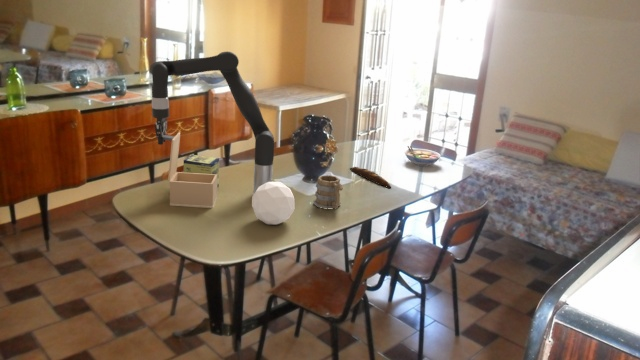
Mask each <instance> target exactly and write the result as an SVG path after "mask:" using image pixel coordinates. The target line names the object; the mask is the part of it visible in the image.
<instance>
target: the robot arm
mask: <svg viewBox="0 0 640 360" xmlns="http://www.w3.org/2000/svg"><path fill="white" fill-rule="evenodd" d="M239 61H240V60H239V57H238V55H236V54H235V53H234V52H232V51H223V52H220V53H219V54H217V55H214V56H207V57H196V58H195V57H194V58H184V59H176V60H160V61H159V60H158V61H155V62H153V63H151V65H150V67H149V72H150V74H151V75H152V76H151V78H152V86H151V116H152V117H153V118H154V119H156V121H155V125H154V130H155V136H156V138H157V137H158V139H157V145H164V143H165V142H166V141H167V140H163V135H167V131H168V118H170V101H169V90H168V82H169V77H170V76H176V77H179V76H180V77H181V76H188V75H194V74H200V73H207V72H214V71H215V72H216V71H219V72H220V73H221V75H222V76H223V78H224V80H225V81H226V83H227V85H228V88H229V90H230V93H231V95H232V97H233V100H234V102H235V103H236V106H237V108H238V110H239V111H240V113H241V115H242V116H243V119H244V120H246V122H247V123H248V125H249V126H250V128H251V130H252V134H253V136H254V139H255V144H254V145H255V146H254V167H253V168H254V169H253V170H254V171H253V173H254V174H253V190H252V191H253V194H252V196H253V195H254V193H255V192H256V190H257V189H258V187H259V186H261V185H263V184H265V183H267V182H274V181H273V180H274V177H273V173H274V172H273V170H274V157H275V155H274V153H275V138H274V135H273V133H272V131H271V130H270V128H269V126H268V125H267V124H266V121H265V120H264V118H263V114H262V112H261V110H260V109H261V108H260V106H259V105H258V102H257V99H256V98H255V95H254V94H253V92H252V90H251V89H250V87H249V85H248V84H247V83H246V82H245V81H244V80H243V78H242V76H241V74H240V72H239V70H238V66H239V63H240V62H239Z"/></svg>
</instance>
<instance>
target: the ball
mask: <svg viewBox="0 0 640 360" xmlns="http://www.w3.org/2000/svg"><path fill="white" fill-rule="evenodd" d="M253 193H254V192H253ZM295 205H296V204H295V197H294V194H293V192H292V190H291V188H290V187H288V185H287V186H286V185H285V184H284V183H282V182H281V181H272V182H267V183H265V184H263V185H261V186H259V187H258V189H257V190H256V192H255V193H254V195H253V194H252V196H251V206H252V210H253V211H254V212H253V213H254V215H255V218H257V219H258V220H260V221H261V222H263V223H264V224H266V225H275V226H277V225H279V224H282V223H283V222H285V221H287V220H289V219H290V217H291V216H292V214H293V213H294V211H295V207H296V206H295Z"/></svg>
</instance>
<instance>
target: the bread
mask: <svg viewBox="0 0 640 360" xmlns="http://www.w3.org/2000/svg"><path fill="white" fill-rule="evenodd" d="M349 170H351V171H352V172H353V171H354V172H353V173H355V172H356V174H357V173H358V174H357V175H359V174H360V175H359V176H361V175H362V176H361V177H363V176H364V177H363V178H365V179H367V178H368V179H367V180H369V179H370V181H371V180H372V181H371V182H373V181H374V182H373V183H376V182H377V183H376V184H378V183H379V184H378V185H380V184H381V185H380V186H382V185H384V186H387V187H390V188H392V186H391V184H390V183H389V182H388V181H387V180H386V179H385V178H383V177H382V176H379V174H378V173H376V172H374V171H372V170H369V169H366V168H361V167H358V166H353V167H350V168H349ZM384 186H383V187H384ZM387 187H386V188H387ZM390 188H389V189H390Z"/></svg>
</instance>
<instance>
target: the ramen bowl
mask: <svg viewBox="0 0 640 360" xmlns="http://www.w3.org/2000/svg"><path fill="white" fill-rule="evenodd" d="M407 148H408V149H405V150H404V154H405V156H406V158H407V159H408V160H409V161H410V162H411V163H412V164H415V165H417V166H419V167H426V166H431V165H433V164H435V163H436V162H438V161H439V159H440V158H441V154H440V153H439V152H437V151H434V150H430V149H427V148H413V147H412V146H409V145H407Z"/></svg>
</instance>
